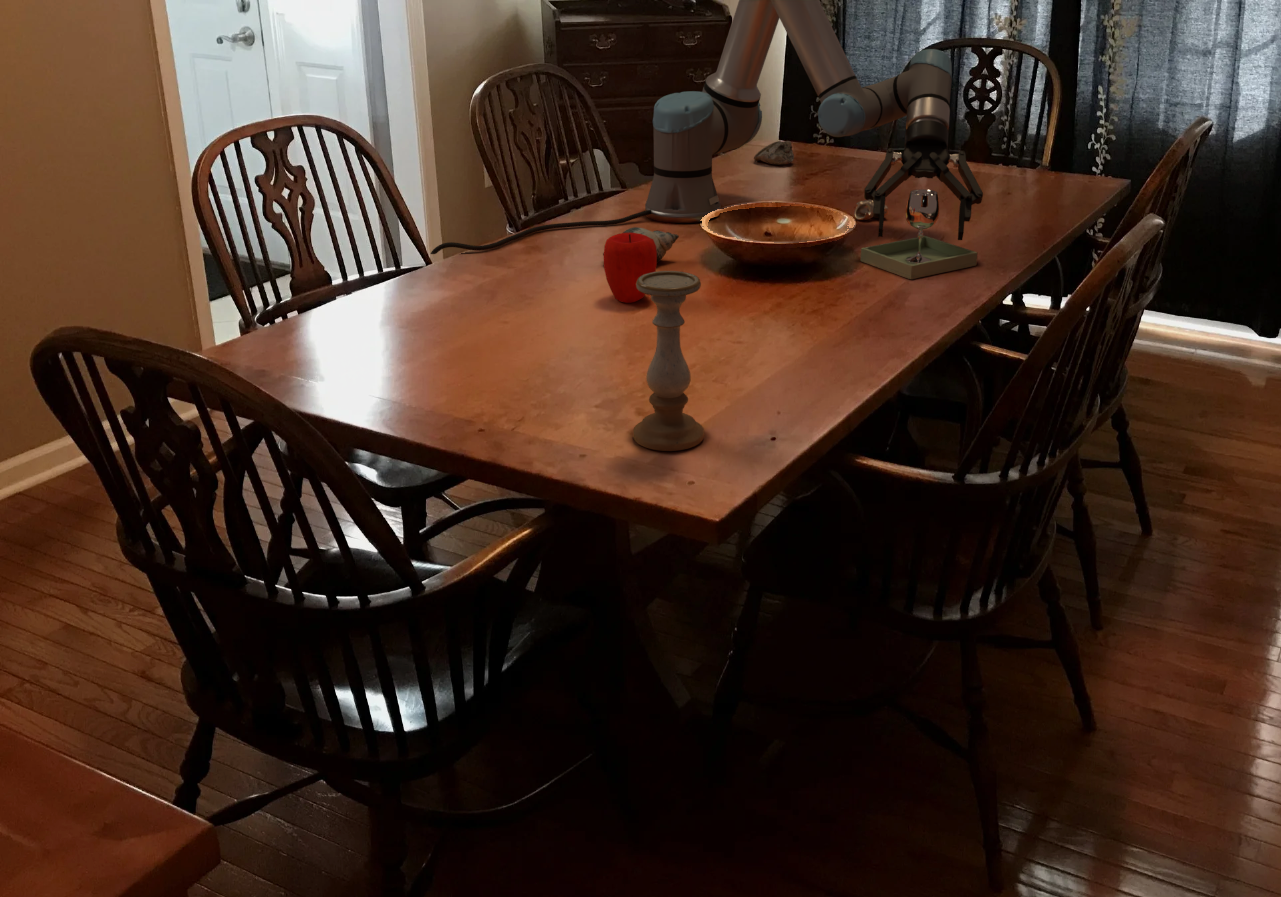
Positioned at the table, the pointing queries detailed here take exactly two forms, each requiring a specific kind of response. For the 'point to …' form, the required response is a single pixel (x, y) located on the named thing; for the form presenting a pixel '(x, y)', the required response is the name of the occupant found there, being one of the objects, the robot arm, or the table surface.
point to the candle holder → (668, 366)
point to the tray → (937, 250)
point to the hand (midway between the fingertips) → (920, 234)
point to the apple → (628, 264)
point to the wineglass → (921, 216)
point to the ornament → (866, 210)
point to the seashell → (656, 239)
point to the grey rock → (776, 153)
